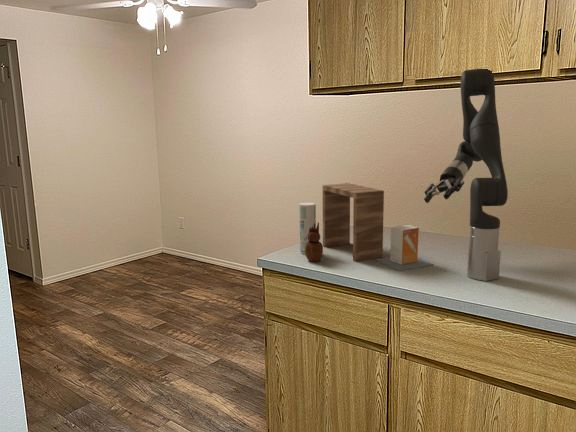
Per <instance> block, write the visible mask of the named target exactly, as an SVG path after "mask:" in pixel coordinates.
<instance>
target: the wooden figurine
mask: <svg viewBox="0 0 576 432" xmlns="http://www.w3.org/2000/svg"><path fill="white" fill-rule="evenodd" d="M307 238H308V240H309V241H308V242H307V243H306V245H305V254H306V255H305V254H304V255H305V257H306V259H307V260H308V261H309V262H313V263H316V262H319V261H320V260H321V259H322V257H323V254H324V247H323V243H322V242H321V241H320V240H321V234H320V223H319V221H318V222H317V223H316V226H315V223H314V228H313V226H312V228H310V229H309V233H308V236H307Z"/></svg>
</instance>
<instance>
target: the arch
mask: <svg viewBox="0 0 576 432" xmlns="http://www.w3.org/2000/svg"><path fill="white" fill-rule="evenodd" d="M351 198H352V199H353V219H352V220H353V221H352V222H353V227H352V228H353V230H352V231H353V233H352V235H353V236H352V240H353V241H352V243H353V244H352V261H353V262H355V263H357V262H364V261H369V260H375V259H380V258H384V257H383V256H384V253H383V252H384V249H383V247H384V211H385V210H384V208H385V204H384V202H385V191H384V190H382V189H377V188H372V187H368V186H364V185H359V184H354V183H349V182H344V183H334V184H333V183H331V184H322V246H323V248H330V247H336V246H345V245H350V244H351V243H350V242H351V239H350V238H351Z"/></svg>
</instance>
